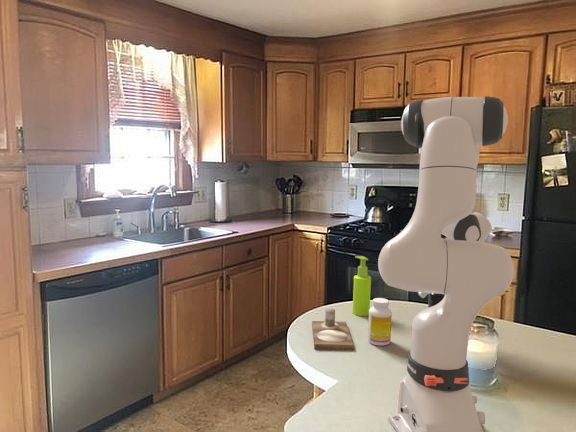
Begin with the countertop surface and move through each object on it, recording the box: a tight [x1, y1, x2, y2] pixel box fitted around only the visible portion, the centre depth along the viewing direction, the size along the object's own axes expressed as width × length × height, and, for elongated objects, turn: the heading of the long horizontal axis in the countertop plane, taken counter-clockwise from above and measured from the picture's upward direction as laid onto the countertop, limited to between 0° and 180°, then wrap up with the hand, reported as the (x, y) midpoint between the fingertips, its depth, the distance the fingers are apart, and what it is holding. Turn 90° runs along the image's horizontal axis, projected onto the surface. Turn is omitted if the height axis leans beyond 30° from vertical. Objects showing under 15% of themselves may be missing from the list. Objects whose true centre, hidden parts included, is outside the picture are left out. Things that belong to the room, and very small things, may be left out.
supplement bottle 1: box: [367, 297, 393, 347], centre depth 138 cm, size 7×7×13 cm
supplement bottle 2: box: [427, 293, 445, 308], centre depth 159 cm, size 7×7×12 cm
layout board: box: [311, 308, 354, 351], centre depth 141 cm, size 18×11×6 cm, turn 179°
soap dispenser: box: [352, 255, 372, 317], centre depth 162 cm, size 6×7×20 cm
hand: (413, 291), depth 138 cm, fingers open, 8 cm apart
